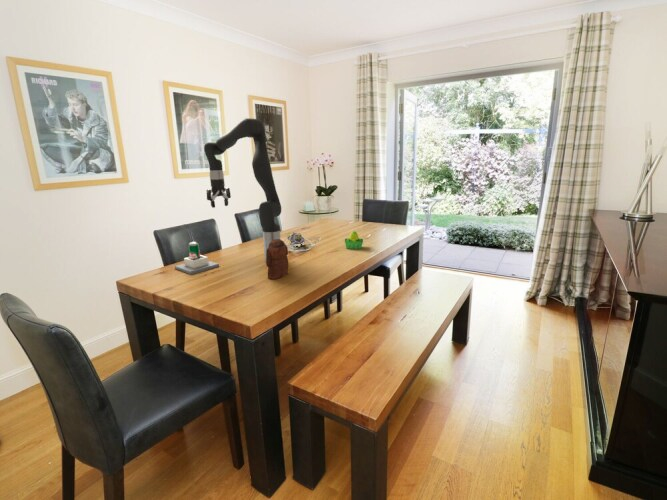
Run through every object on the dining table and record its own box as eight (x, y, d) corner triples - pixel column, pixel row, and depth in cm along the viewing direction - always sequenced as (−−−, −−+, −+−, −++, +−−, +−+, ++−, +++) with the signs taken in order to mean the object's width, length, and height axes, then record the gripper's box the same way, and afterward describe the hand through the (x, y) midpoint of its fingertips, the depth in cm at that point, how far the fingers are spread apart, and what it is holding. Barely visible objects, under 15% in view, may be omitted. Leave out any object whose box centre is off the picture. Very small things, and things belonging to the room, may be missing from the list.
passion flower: (299, 256, 220) (292, 244, 212) (288, 250, 227) (281, 238, 219) (311, 244, 224) (304, 231, 216) (300, 238, 231) (293, 226, 223)
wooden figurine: (280, 271, 176) (277, 236, 171) (290, 273, 172) (288, 237, 168) (264, 278, 166) (261, 241, 161) (275, 280, 163) (272, 243, 158)
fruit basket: (363, 246, 220) (363, 228, 217) (363, 250, 211) (363, 231, 208) (345, 246, 221) (345, 228, 218) (344, 250, 212) (344, 231, 210)
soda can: (189, 266, 182) (186, 243, 179) (194, 263, 187) (191, 241, 184) (197, 266, 181) (195, 244, 178) (203, 263, 186) (200, 241, 183)
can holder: (219, 266, 186) (218, 256, 184) (191, 274, 174) (189, 263, 172) (202, 261, 195) (201, 251, 194) (174, 268, 183) (173, 258, 182)
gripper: (209, 179, 193) (212, 208, 197) (231, 177, 203) (234, 205, 208) (202, 179, 197) (205, 207, 202) (223, 177, 208) (226, 204, 212)
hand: (220, 206), depth 205 cm, fingers open, 8 cm apart
